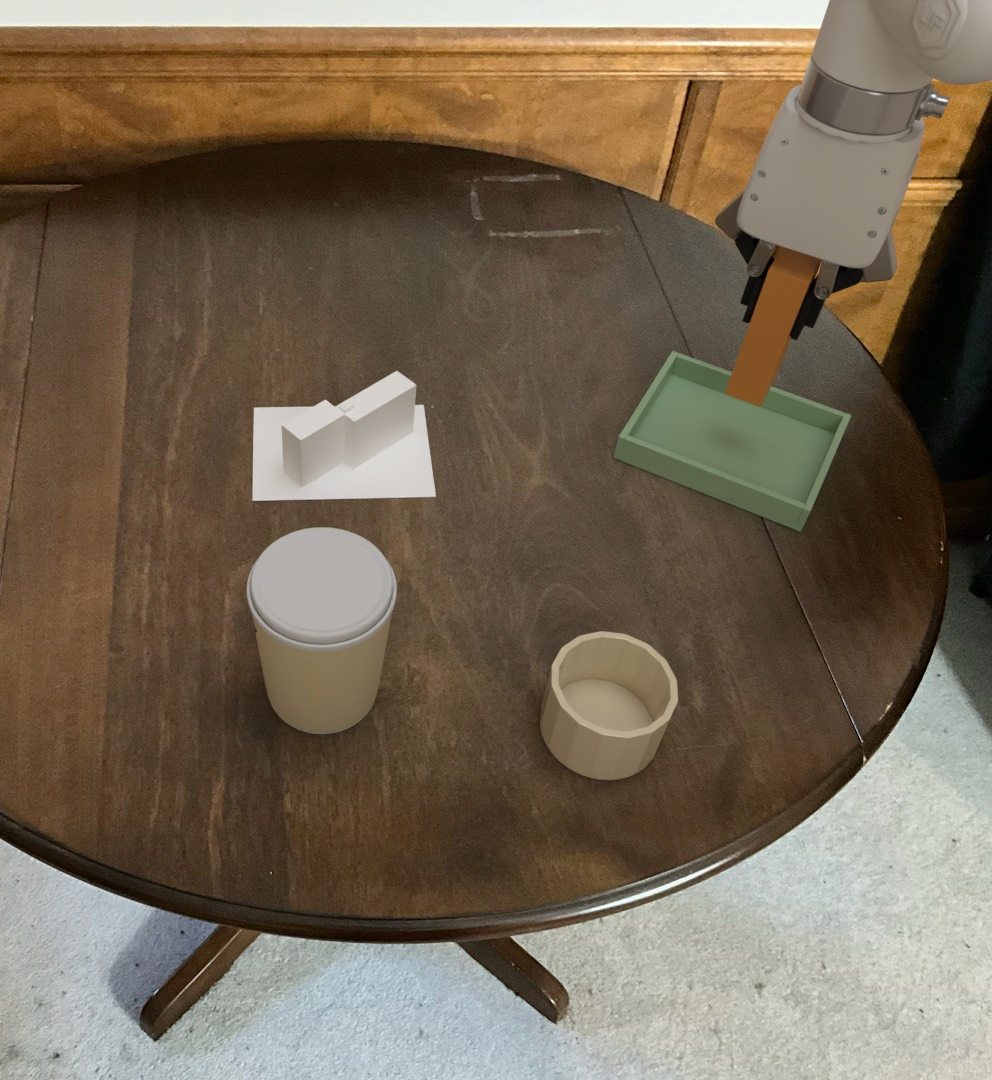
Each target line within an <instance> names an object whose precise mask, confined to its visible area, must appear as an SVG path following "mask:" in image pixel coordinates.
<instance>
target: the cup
mask: <svg viewBox="0 0 992 1080" xmlns="http://www.w3.org/2000/svg"><path fill="white" fill-rule="evenodd" d="M549 670H550V671H549V675H548V678H547V682H546V686H545V689H544V694H543V697H542V701H541V704H540V714H539V728H540V734H541V736H542V739H543V742H544V743H545V745H546V747H547V749H548V750H549V752H550V753H551V754H552V755H553V756H554V758H555V759H556V760H557V761H559V763H561V764H562V765H563V766H565V767H566V768H567V769H569V770H571V771H572V772H574V773H575V774H577V775H578V774H579V775H581V776H583V777H585V778H590V779H594V780H600V781H616V780H623V779H626V778H630V777H632V776H635V775H636V774H638V773H639V772H642V770H644V769H645V768H646V767H647V766H648V765H650V763H651V761H653V759H654V758H655V756H656V753H657V751H658V749H659V747H660V745H661V743H662V740H663V738H664V735H665V733H666V731H667V728H668V726H669V724H670V722H671V719H672V717H673V715H674V712H675V710H676V708H677V705H678V703H679V691H678V690H679V689H678V680H677V677H676V675H675V674H674V671H673V670H672V668H671V666H670V664H669V662H668V661H667V659H666V658H664V657H663V656H662V654H660V653H659V652H658V651H657V650H656V649H655V648H654V647H652V646H651V645H650V644H648V643H647V642H645V641H643V640H640V639H638V638H636V637H634V636H632V635H629V634H627V633H620V632H612V631H604V630H599V631H594V632H591V633H586V634H581V635H578V636H577V637H575V638H573V639H572V640H571V641H569V642H568V643H566V644H564V645H563V646H562V647H561V648H560V649H559V651H558V653H557V655H556V657H555V658H554V660H553V662H552V664H551V667H550V669H549Z"/></svg>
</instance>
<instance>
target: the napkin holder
mask: <svg viewBox="0 0 992 1080" xmlns="http://www.w3.org/2000/svg"><path fill="white" fill-rule="evenodd" d="M416 395H417V383H415V382H413V381H412V380H411V379H410V378H408V377H406V376H405V375H404V374H402V373H401V372H399V371H398V370H396V371H394V372H392V373H390V374H389V375H387V376H386V377H383V378H382V379H380V380H378V381H376V382H374V383H373V384H371V385H369V386H368V387H367V388H365V389H363V390H361V391H359V392H358V393H356V394H354V395H353V396H351V397H349V398H347V399H345V400H344V401H342V402H340V403H338V404H337V405H333V404H332V403H331V402H330V401H328V400H327V399H324V400H322V401H321V402H319V403H317V404H315V405H314V406H266V407H265V406H264V407H260V406H259V407H258V406H257V407H253V433H252V434H253V436H252V443H253V444H252V494H251V495H252V496H251V497H252V498H251V499H252V500H251V501H252V502H263V501H264V502H265V501H266V502H267V501H271V502H272V501H308V500H310V501H311V500H312V501H315V500H352V499H353V500H357V499H360V500H361V499H399V498H401V499H402V498H404V499H405V498H437V495H436V487H435V479H434V472H433V471H434V470H433V464H432V456H431V449H430V441H429V434H428V426H427V418H426V413H425V412H426V411H425V405H424V404H416Z"/></svg>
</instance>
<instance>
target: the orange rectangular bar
mask: <svg viewBox="0 0 992 1080" xmlns="http://www.w3.org/2000/svg"><path fill="white" fill-rule="evenodd" d="M821 263H822V260H821V259H818V258H815V257H812V256H809V255H806V254H803V253H799V252H796V251H793V250H790V249H787V248H784V247H781V246H780V249H779V251H778V253H777V255H776V256H775V258H774V261H773V263H772V265H771V267H770V268H769V270H768V273H767V276H766V279H765V282H764V284H763V287H762V290H761V293H760V296H759V298H758V301H757V304H756V307H755V310H754V312H753V315H752V318H751V321H750V322H749V324H748V327H747V329H746V332H745V334H744V338H743V340H742V344H741V346H740V348H739V352H738V353H737V358H736V360H735V363H734V365H733V368H732V371H731V372H732V374H731V377H730V380H729V382H728V385H727V388H726V391H725V394H726V395H729V396H731V397H734V398H737V399H739V400H742V401H745V402H748V403H750V404H753V405H756V406H758V407H761V405H762V403H763V401H764V399H765V397H766V395H767V393H768V391H769V389H770V387H771V386H773V384H774V381H775V380H776V377H777V376H778V373H779V370H780V368H781V365H782V362H783V360H784V357H785V355H786V353H787V351H788V348H789V346H790V343H791V341H792V339H791V336H789V335H790V333H791V330H792V328H793V325H794V322H795V320H796V317H797V315H798V312H799V310H800V307H801V305H802V302H803V300H804V297H805V295H806V293H807V291H808V289H809V287H810V286H811V284H812V282H813V280H814V278H816V277H817V275H818V273H819V271H820V267H821Z"/></svg>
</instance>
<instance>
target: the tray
mask: <svg viewBox="0 0 992 1080" xmlns="http://www.w3.org/2000/svg"><path fill="white" fill-rule="evenodd" d="M731 374H732V371H730V370H727V369H725V368H722V367H719V366H716V365H713V364H711V363H708V362H705V361H702V360H699V359H697V358H694V357H692V356H689V355H685V354H683V353H680V352H677V351H675V350H671V352H670V354H669V355H668V357H667V359H666V361H665V362H664V364H663V365H662V367H661V368H660V370H659V372H658V373H657V375H656V376H655V378H654V379H653V381H652V383H651V384H650V386H649V387H648V389H647V391H646V392H645V394H644V395H643V397H642V398H641V400H640V402H639V404H638V405H637V406H636V408H635V409H634V411H633V413H632V414H631V416H630V418H629V420H627V423H626V424H625V426H624V427H623V429H622V430H621V432H620V433H619V435H618V438H617V441H616V445H615V448H614V453H613V457H612V458H613V459H615V460H618V461H621V462H623V463H625V464H628V465H631V466H633V467H636V468H637V469H640V470H643V471H646V472H648V473H650V474H652V475H653V474H654V475H656V476H658V477H661V478H663V479H666V480H669V481H671V482H673V483H676V484H679V485H681V486H684V487H686V488H689V489H691V490H693V491H695V492H699V493H701V494H704V495H706V496H708V497H711V498H713V499H716V500H718V501H721V502H724V503H726V504H729V505H732V506H734V507H736V508H738V509H741V510H744V511H746V512H748V513H752V514H754V515H756V516H759V517H762V518H764V519H767V520H769V521H772V522H774V523H777V524H779V525H782V526H785V527H787V528H790V529H792V530H794V531H797V532H799V533H801V532H802V531H803V528H804V526H805V524H806V522H807V521H808V517H809V516H810V514H811V511H812V510H813V507H814V505H815V502H816V500H817V497H818V495H819V493H820V490H821V489H822V486H823V483H824V481H825V479H826V477H827V475H828V472H829V469H830V467H831V465H832V462H833V460H834V459H835V458H834V457H835V456H836V453H837V450H838V448H839V446H840V443H841V441H842V438H843V436H844V434H845V432H846V429H847V427H848V425H849V422H850V420H851V417H852V414H850V413H847V412H844V411H842V410H839V409H836V408H833V407H831V406H828V405H825V404H822V403H819V402H818V401H817V402H816V401H814V400H811V399H808V398H805V397H803V396H800V395H797V394H794V393H792V392H788V391H786V390H784V389H780V388H778V387H775V386H773V385H771V387H770V389H769V391H768V393H767V395H766V397H765V399H764V401H763V403H762V405H761V407H758V406H756V405H753V404H750V403H748V402H745V401H742V400H739V399H737V398H734V397H731V396H729V395H726V394H725V391H726V388H727V385H728V382H729V380H730V377H731Z"/></svg>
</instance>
